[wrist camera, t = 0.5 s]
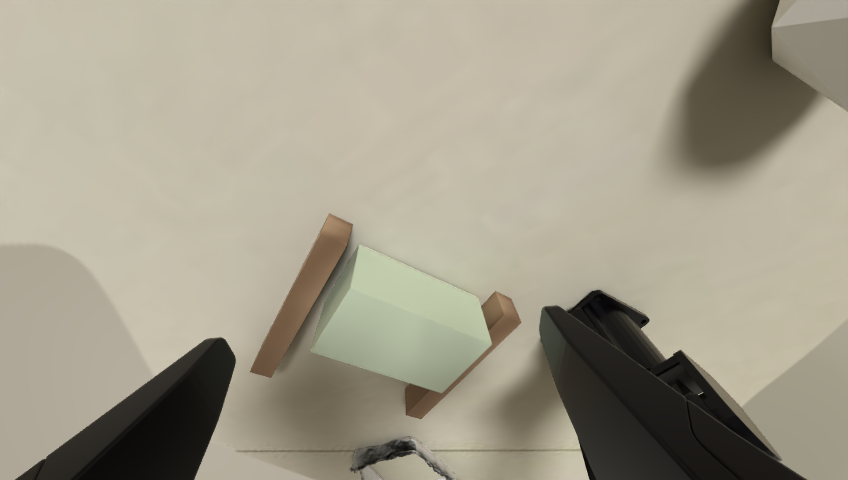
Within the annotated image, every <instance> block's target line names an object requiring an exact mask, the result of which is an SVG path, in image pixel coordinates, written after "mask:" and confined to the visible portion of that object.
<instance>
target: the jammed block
mask: <svg viewBox="0 0 848 480" xmlns="http://www.w3.org/2000/svg"><path fill="white" fill-rule="evenodd" d="M491 345H492V342H491V338H490V335H489V332H488V328H487V325H486V322H485V319H484V315H483V312H482V309H481V305H480V302H479V299H478V297H476V296H474V295H472V294H470V293H468V292H465V291H463V290H461V289H459V288H457V287H454V286H452V285H450V284H448V283H445V282H443V281H441V280H439V279H437V278H434V277H432V276H430V275H428V274H425V273H423V272H421V271H419V270H417V269H414V268H412V267H410V266H408V265H406V264H403V263H401V262H399V261H397V260H394V259H392V258H390V257H388V256H386V255H383V254H381V253H379V252H377V251H374V250H372V249H370V248H368V247H366V246H363V245H361V244H359V246H358V247H357V249H356V251H355V252H354V254H353V256H352V257H351V259H350V261H349V262H348V264H347V266H346V267H345V269H344V271H343V272H342V274H341V276H340V277H339V279H338V281H337V283H336V284H335V286H334V288H333V289H332V291H331V293H330V294H329V296H328V298H327V299H326V301H325V303H324V306H323V310H322V313H321V317H320V320H319V323H318V327H317V330H316V334H315V337H314V340H313V344H312V347H311V351H310V352H312V353H315V354H318V355H321V356H324V357H328V358H331V359H334V360H337V361H340V362H344V363H347V364H350V365H353V366H356V367H360V368H363V369H366V370H369V371H372V372H375V373H379V374H382V375H385V376H388V377H391V378H395V379H398V380H401V381H404V382H407V383H410V384H414V385H417V386H420V387H423V388H426V389H430V390H433V391H436V392H439V393H443V392H444V391H445V390H446V389H447V388H448V387H449V386H450V385H451V384H452V383H453V382H454V381H455V380H456V379H457V378H458V377H459V376H460V375H461V374H462V373H463V372H464V371H465V370H466V369H467V368H468V367H469V366H470V365H472V364H473V363H474V362H475V361H476V360H477V359H478V358H479V357H480V356H481V355H482V354H483V353H484V352H485V351H486V350H487V349H488V348H489V347H490V346H491Z"/></svg>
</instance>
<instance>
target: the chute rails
mask: <svg viewBox="0 0 848 480" xmlns="http://www.w3.org/2000/svg"><path fill="white" fill-rule="evenodd" d="M351 228H352V224H350V223H348V222H346V221H344V220H342V219H340V218H338V217H335V216H333V215H331V214H329V215H328V217H327V219H326V221H325V223H324V225H323V227H322V229H321V231H320V233H319V235H318V237H317V239H316V241H315V243H314V245H313V247H312V249H311V251H310V252H309V254H308V256H307V258H306V260H305V262H304V264H303V266H302V268H301V270H300V272H299V274H298V276H297V278H296V280H295V282H294V284H293V286H292V288H291V290H290V292H289V294H288V296H287V297H286V299H285V301H284V303H283V305H282V307H281V309H280V311H279V313H278V315H277V317H276V319H275V321H274V323H273V325H272V327H271V329H270V331H269V333H268V335H267V337H266V339H265V341H264V342H263V344H262V347H261V349H260V351H259V353H258V355H257V357H256V360H255V362H254V364H253V366H252V368H251V370H250V372H252V373H255V374H259V375H263V376H266V377H270V378H271V377H272V375H273V374H274V372H275V370H276V368H277V367H278V365H279V363H280V361H281V360H282V358H283V356H284V354H285V353H286V351H287V349H288V347H289V346H290V344H291V342H292V340H293V339H294V337H295V335H296V333H297V332H298V330H299V328H300V326H301V325H302V323H303V321H304V319H305V318H306V316H307V314H308V312H309V311H310V309H311V307H312V306H313V304H314V302H315V300H316V299H317V297H318V295H319V293H320V292H321V290H322V288H323V286H324V285H325V283H326V281H327V279H328V278H329V276H330V274H331V272H332V271H333V269H334V267H335V265H336V264H337V262H338V260H339V258H340V257H341V255H342V253H343V251H344V250H345V248H346V246H347V243H348V240H349V236H350V232H351ZM481 309H482V312H483V315H484V319H485V322H486V325H487V328H488V332H489V335H490V338H491V342H492V345H491V346H490V347H489V348H488V349H487V350H486V351H485V352H484V353H483V354H482V355H481V356H480V357H479V358H478V359H477V360H476V361H475V362H474V363H473V364H472V365H470V366H469V367H468V368H467V369H466V370H465V371H464V372H463V373H462V374H461V375H460V376H459V377H458V378H457V379H456V380H455V381H454V382H453V383H452V384H451V385H450V386H449V387H448V388H447V389H446V390H445V391H444V392H443V393H439V392H436V391H433V390H430V389H426V388H423V387H420V386H417V385H414V384H410V385H409V386H408V387H407V388H406V389H405V390H406V415H408V416H411V417H415V418H419V419H422V418H423V417H424V416H425V415H426V414H427V413H428V412H429V411H430V410H431V409H432V408H433V407H434V406H435V405H436V404H437V403H438V402H439V401H440V400H441V399H443V398H444V397H445V396H446V395H447V394H448V393H449V392H450V391H451V390H452V389H453V388H454V387H455V386H456V385H457V384H458V383H459V382H460V381H461V380H462V379H463V378H464V377H465V376H466V375H467V374H469V373H470V372H471V371H472V370H473V369H474V368H475V367H476V366H477V365H478V364H479V363H480V362H481V361H482V360H483V359H484V358H485V357H486V356H487V355H488V354H489V353H490V352H491V351H492V350H493V349H494V348H496V347H497V346H498V345H499V344H500V343H501V342H502V341H503V340H504V339H505V338H506V337H507V336H508V335H509V334H510V333H511V332H512V331H513V330H514V329H515V328H516V327H517V326H518V325H519V324H520V323H521V321H520V318H519V316H518V314H517V311H516V309H515V307H514V304H513V302H512V300H511V299H510V298H508V297H506V296H504V295H502V294H500V293H498V292H495V293H494V294H493V295H492V296H491V297H490V298H489V299H488V300H487V301H486V302H485V303H484V305H483V306H482V307H481Z"/></svg>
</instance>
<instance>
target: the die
mask: <svg viewBox="0 0 848 480" xmlns="http://www.w3.org/2000/svg"><path fill="white" fill-rule="evenodd" d="M771 29H772V60H773V61H774V62H776V63H777V64H779V65H780V66H782V67H783V68H784V69H786V70H787V71H789V72H790V73H792V74H793V75H795V76H796V77H798V78H799V79H801V80H802V81H804V82H805V83H806V84H808V85H809V86H811V87H812V88H814V89H815V90H817V91H818V92H820V93H821V94H823V95H824V96H826V97H827V98H828V99H830V100H831V101H833V102H834V103H836V104H837V105H839V106H840V107H842V108H843V109H845V110H846V111H847V112H848V0H780V1H779V5H778V8H777V11H776V15H775V18H774V21H773V24H772V28H771Z"/></svg>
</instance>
